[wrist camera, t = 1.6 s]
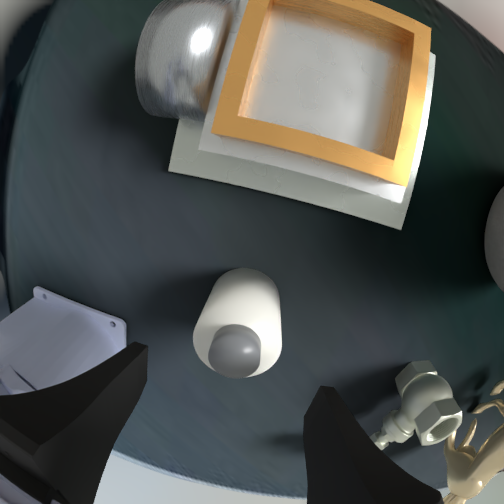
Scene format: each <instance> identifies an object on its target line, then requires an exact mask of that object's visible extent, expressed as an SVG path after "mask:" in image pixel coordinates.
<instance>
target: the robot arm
mask: <svg viewBox="0 0 504 504" xmlns="http://www.w3.org/2000/svg"><path fill="white" fill-rule="evenodd" d="M33 293H34V298H32V299H31V300H30V301H28V302H27V303H25V304H24V305H22V306H21V307H20V308H18V309H17V310H16V311H14V312H13V313H11V314H10V315H9V316H7V317H6V318H5V319H3V320H2V321H1V322H0V504H93V503H94V499H95V496H96V492H97V489H98V486H99V483H100V480H101V477H102V474H103V471H104V469H105V466H106V463H107V460H108V458H109V455H110V453H111V451H112V448H113V446H114V443H115V441H116V439H117V437H118V435H119V434H120V432H121V430H122V429H123V427H124V425H125V423H126V422H127V420H128V418H129V416H130V415H131V413H132V411H133V409H134V408H135V406H136V404H137V402H138V401H139V399H140V396H141V394H142V392H143V389H144V387H145V384H146V382H147V358H148V346H146V345H143V344H140V343H137V342H133V343H131V344H130V345H128V346H127V347H126V323H125V322H124V321H123V320H122V319H120V318H117V317H114V316H112V315H109V314H106V313H103V312H101V311H98V310H95V309H93V308H90V307H87V306H85V305H82V304H80V303H77V302H75V301H72V300H70V299H67V298H65V297H62V296H60V295H57V294H55V293H53V292H50V291H48V290H46V289H44V288H41V287H39V286H36V287H35V288H34V289H33ZM112 321H113V322H114V323H115V324H116V325H115V324H113V322H112ZM303 438H304V449H305V459H306V469H307V480H308V492H307V504H444V501H443V498H442V496H441V493H440V491H438V490H436V489H434V488H432V487H430V486H428V485H426V484H424V483H422V482H421V481H419V480H417V479H416V478H414V477H413V476H411V475H410V474H408V473H407V472H406V471H404V470H403V469H402V468H400V467H399V466H398V465H397V464H395V463H394V462H393V461H392V460H391V459H390V458H389V457H387V456H386V455H385V454H384V453H383V452H382V451H381V450H380V449H379V448H378V447H377V445H376V444H375V443H374V442H373V441H372V440H371V439H370V437H369V436H368V435H367V434H366V433H365V431H364V430H363V429H362V427H361V426H360V425H359V423H358V422H357V421H356V419H355V418H354V416H353V415H352V414H351V412H350V411H349V409H348V408H347V406H346V405H345V403H344V402H343V400H342V399H341V397H340V396H339V394H338V393H337V391H336V390H335V388H334V387H326V386H320V388H319V390H318V392H317V393H316V395H315V397H314V399H313V401H312V403H311V405H310V407H309V408H308V410H307V412H306V414H305V416H304V431H303Z"/></svg>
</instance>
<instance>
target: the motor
mask: <svg viewBox="0 0 504 504" xmlns="http://www.w3.org/2000/svg"><path fill="white" fill-rule="evenodd" d="M430 41H431V28H429V27H427V26H426V25H424V24H422V23H420V22H418V21H416V20H414V19H412V18H410V17H407V16H405V15H403V14H401V13H399V12H396V11H394V10H392V9H389V8H387V7H385V6H382V5H380V4H377V3H374V2H372V1H369V0H164V1H162V2H161V3H160V4H159V5H158V6H157V7H156V8H155V9H154V10H153V12H152V13H151V15H150V16H149V18H148V20H147V22H146V23H145V26H144V28H143V31H142V33H141V36H140V40H139V44H138V48H137V53H136V61H135V82H136V90H137V94H138V98H139V101H140V103H141V105H142V107H143V108H144V110H145V111H146V112H147V113H148V114H150V115H152V116H159V117H168V118H176V119H179V123H178V127H177V132H176V136H175V141H174V145H173V150H172V155H171V160H170V165H169V170H168V171H171V172H176V173H181V174H186V175H192V176H197V177H201V178H206V179H211V180H216V181H220V182H225V183H230V184H234V185H238V186H243V187H247V188H251V189H256V190H260V191H264V192H268V193H272V194H276V195H280V196H284V197H288V198H292V199H296V200H300V201H304V202H307V203H311V204H315V205H318V206H322V207H326V208H329V209H333V210H336V211H340V212H343V213H347V214H350V215H354V216H357V217H360V218H364V219H367V220H370V221H374V222H377V223H380V224H383V225H386V226H390V227H393V228H396V229H399V230H401V229H402V225H403V222H404V219H405V215H406V212H407V209H408V205H409V202H410V198H411V194H412V191H413V187H414V183H415V179H416V175H417V171H418V166H419V162H420V157H421V153H422V148H423V143H424V138H425V133H426V127H427V121H428V115H429V109H430V102H431V95H432V87H433V78H434V68H435V55H434V54H432V53H430Z"/></svg>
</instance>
